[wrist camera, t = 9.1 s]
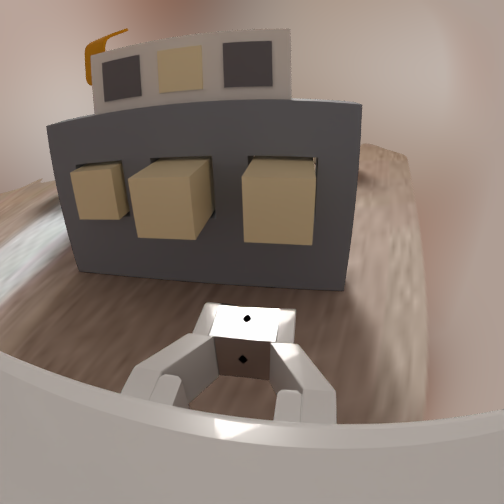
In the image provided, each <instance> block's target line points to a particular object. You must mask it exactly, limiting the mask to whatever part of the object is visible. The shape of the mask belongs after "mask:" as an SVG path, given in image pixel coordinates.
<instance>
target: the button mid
mask: <svg viewBox="0 0 504 504" xmlns="http://www.w3.org/2000/svg"><path fill="white" fill-rule="evenodd" d="M128 183H129V190H130V196H131V202H132V208H133V214H134V219H135V225H136V230H137V235H138V238H159V239H184V240H196V239H197V237H198V235H199V234H200V232H201V231H202V229H203V227H204V226H205V224H206V223H207V221H208V220H209V218H210V217H211V215H212V213H213V212H214V210H215V195H214V180H213V165H212V156H185V157H163V158H160V159H158V160H157V161H155V162H153V163H152V164H150V165H149V166H147V167H145V168H144V169H142V170H141V171H139V172H138V173H136V174H134V175H133V176H131V177H130V178H128Z"/></svg>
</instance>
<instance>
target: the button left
mask: <svg viewBox="0 0 504 504" xmlns="http://www.w3.org/2000/svg"><path fill="white" fill-rule="evenodd" d="M70 175H71V181H72V186H73V191H74V195H75V200H76V205H77V209H78V214H79V218H80V219H90V220H120V219H121V218H122V217H123V216H124V215H126V214H127V213H128V212H129V211H130V209H129V204H128V198H127V192H126V186H125V179H124V172H123V165H122V160H118V161H107V162H97V163H88V164H86V165H84V166H82V167H80V168H78V169H76V170H74V171H72V172H70Z"/></svg>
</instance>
